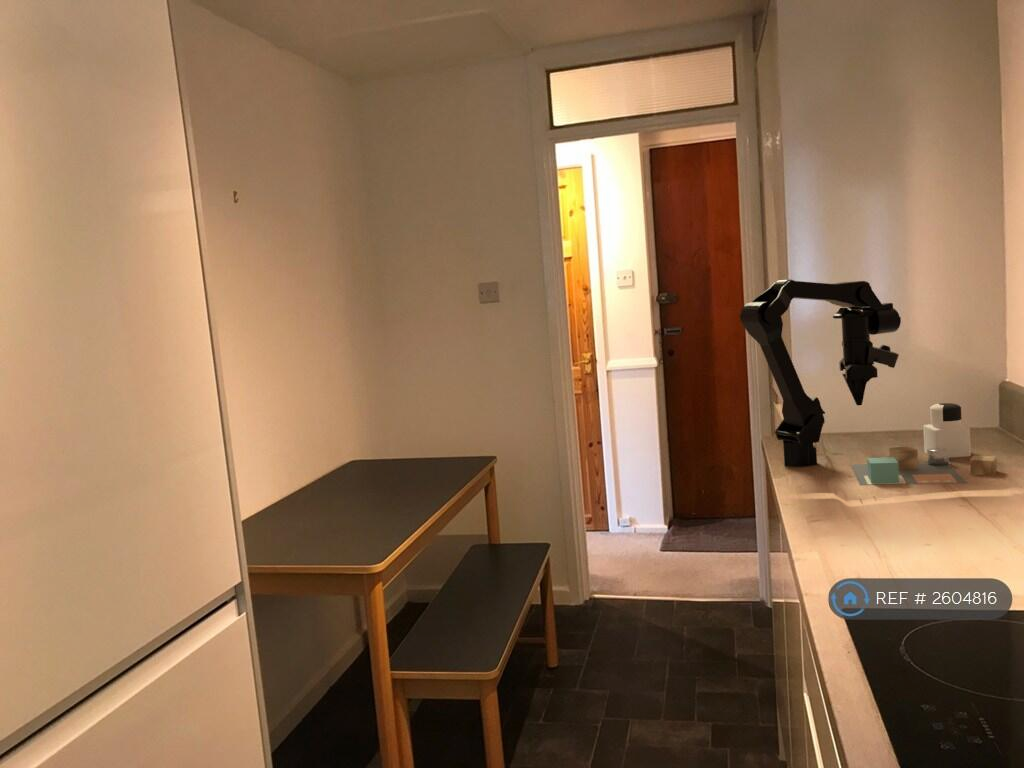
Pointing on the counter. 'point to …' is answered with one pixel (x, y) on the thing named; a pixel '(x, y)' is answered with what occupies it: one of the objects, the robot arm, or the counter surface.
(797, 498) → the counter surface
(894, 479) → the green cube
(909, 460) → the oak cube
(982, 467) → the oak cube
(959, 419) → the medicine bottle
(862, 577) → the counter surface
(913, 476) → the board
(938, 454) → the metal tin
